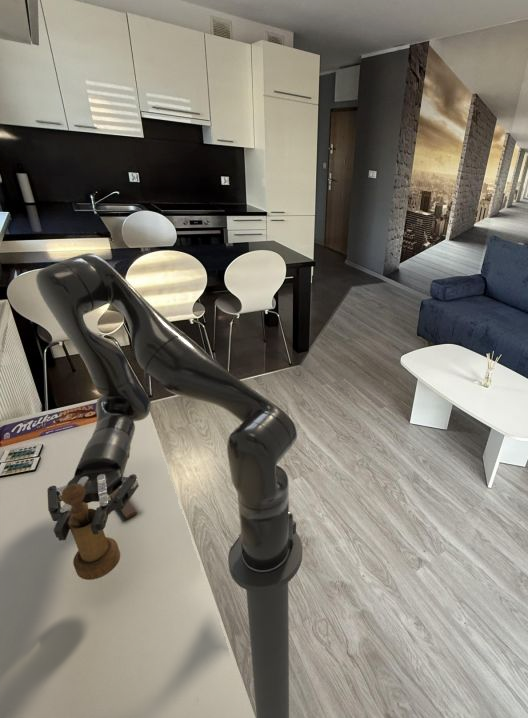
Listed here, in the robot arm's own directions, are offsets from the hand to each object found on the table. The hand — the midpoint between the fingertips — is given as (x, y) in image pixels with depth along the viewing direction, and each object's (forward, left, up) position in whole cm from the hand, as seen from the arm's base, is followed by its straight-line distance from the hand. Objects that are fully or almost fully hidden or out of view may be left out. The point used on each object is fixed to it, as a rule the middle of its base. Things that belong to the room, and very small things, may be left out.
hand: (78, 533), depth 61 cm
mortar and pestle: (-2, -3, -11) cm, 12 cm away
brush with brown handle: (-11, -24, -18) cm, 32 cm away
